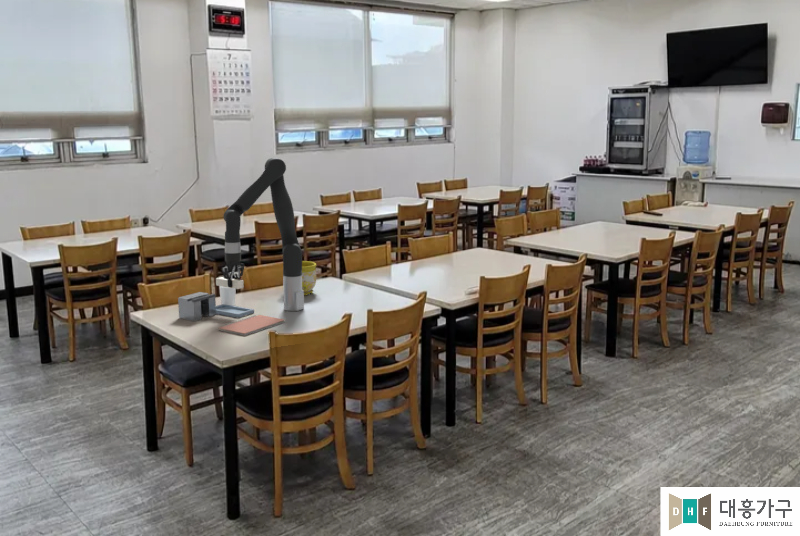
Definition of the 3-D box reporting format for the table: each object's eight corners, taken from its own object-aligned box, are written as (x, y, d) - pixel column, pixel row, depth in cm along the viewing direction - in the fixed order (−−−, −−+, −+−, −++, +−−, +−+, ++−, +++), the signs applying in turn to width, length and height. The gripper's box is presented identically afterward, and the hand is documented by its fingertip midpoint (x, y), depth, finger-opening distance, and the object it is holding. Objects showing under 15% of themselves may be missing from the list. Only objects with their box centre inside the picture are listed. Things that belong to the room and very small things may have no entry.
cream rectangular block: (243, 287, 352) (243, 280, 352) (237, 289, 349) (237, 281, 348) (222, 283, 359) (221, 276, 358) (216, 285, 356) (215, 278, 355)
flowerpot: (323, 294, 397) (322, 264, 394) (294, 298, 386) (294, 268, 383) (305, 288, 411) (304, 259, 408) (277, 292, 399) (276, 263, 396)
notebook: (257, 317, 349) (257, 313, 349) (285, 323, 341) (285, 319, 340) (216, 331, 326) (216, 326, 326) (244, 337, 318) (244, 332, 317)
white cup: (228, 308, 365) (227, 288, 363) (216, 305, 369) (216, 286, 367) (239, 304, 372) (238, 285, 370) (228, 302, 376) (227, 283, 374)
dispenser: (215, 314, 352) (215, 294, 350) (194, 321, 340) (193, 299, 338) (200, 311, 357) (199, 291, 355) (179, 318, 345) (178, 297, 343)
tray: (254, 312, 356) (253, 309, 356) (238, 317, 347) (238, 314, 346) (223, 307, 366) (223, 303, 366) (207, 312, 357) (207, 308, 356)
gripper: (228, 254, 341) (229, 290, 345) (248, 250, 353) (249, 284, 357) (216, 252, 345) (217, 288, 348) (237, 248, 357) (238, 282, 360)
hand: (233, 286), depth 353 cm, fingers closed on cream rectangular block, 4 cm apart
